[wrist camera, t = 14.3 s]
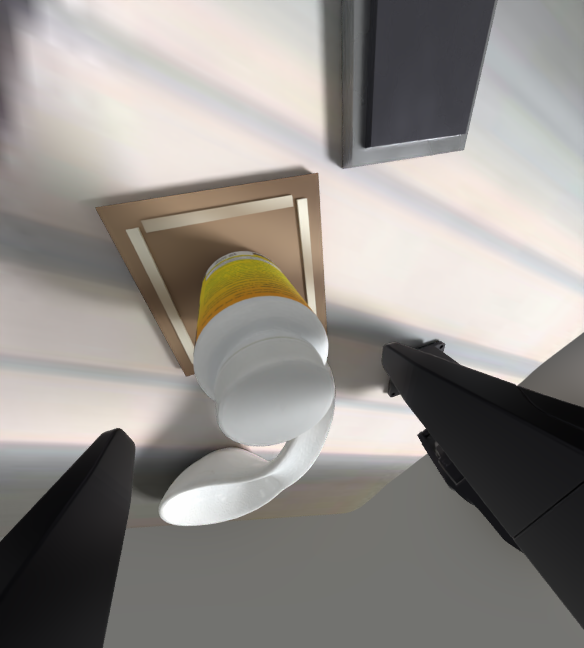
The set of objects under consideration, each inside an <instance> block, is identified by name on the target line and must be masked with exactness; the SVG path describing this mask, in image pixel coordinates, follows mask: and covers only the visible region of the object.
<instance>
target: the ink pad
mask: <svg viewBox="0 0 584 648" xmlns="http://www.w3.org/2000/svg"><path fill="white" fill-rule="evenodd" d="M497 1H498V0H342V114H343V169H345V168H352V167H358V166H365V165H371V164H378V163H384V162H391V161H397V160H403V159H410V158H416V157H423V156H429V155H435V154H442V153H448V152H455V151H461V150H464V147H465V143H466V139H467V134H468V130H469V125H470V121H471V116H472V112H473V107H474V103H475V99H476V94H477V90H478V85H479V81H480V76H481V72H482V67H483V63H484V58H485V54H486V50H487V45H488V41H489V36H490V32H491V27H492V23H493V18H494V14H495V10H496V5H497Z"/></svg>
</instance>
